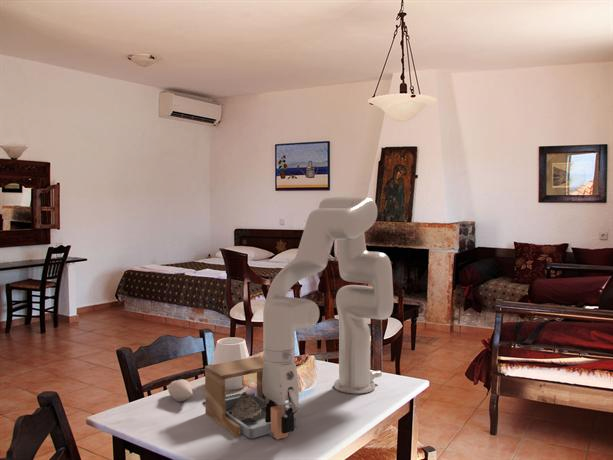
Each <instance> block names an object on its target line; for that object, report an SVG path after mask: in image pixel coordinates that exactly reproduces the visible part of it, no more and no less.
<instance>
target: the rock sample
mask: <svg viewBox="0 0 613 460" xmlns="http://www.w3.org/2000/svg"><path fill="white" fill-rule="evenodd" d="M241 394H242V395H241V396H240V398H239V399H238V402H237V403H236V404H235V406H234V407H233V408H232V409H231V410H230V411H228V413H230V414H231V415H232V416H234V417H235V418H237V419H238V420H240V421H241V422H243V423H244V422H248V421H249V422H250V421H251V422H253V421H257V420H259V419H261V415H262V409H261V407H260V406H259V405H258V404H257V402H255V400H254V399H252V398H251V397H249V396H248V394H249V393H247V392H246V391H243V392H242V393H241Z"/></svg>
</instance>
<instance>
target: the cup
mask: <svg viewBox="0 0 613 460" xmlns="http://www.w3.org/2000/svg"><path fill="white" fill-rule="evenodd" d="M247 357H249V358H250V354H249V351H248V347H247V344H246V339H244V338H242V337H224V338H220V339H218V340H217V341H216V345H215V348H214V352H213V357H212V362H211V365H214V364H220V363H225V362H230V361H236V360H241V359H245V358H247ZM242 388H244V387H243V386H242V376H238V377H233V378H228V379H225V391H227V390H229V391H230V390H240V389H242Z"/></svg>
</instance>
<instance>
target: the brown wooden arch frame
mask: <svg viewBox="0 0 613 460" xmlns="http://www.w3.org/2000/svg"><path fill="white" fill-rule="evenodd" d="M263 359H264V356H262V355H261V356H260V355H257V356H252V357H249V358H246V359H241V360H236V361H230V362H225V363H220V364H214V365H212V364H210V365H205V366H204V381H205V382H204V385H205V387H204V389H205V390H204V393H205V394H204V396H205V397H204V398H205V400H204V401H202V404H203V405H204V406H205V414H206V416H208V417H210V418H211V419H212V420H214V421H215V422H216V423H217V424H219V425H220V426H222V427H223V428H224V429H225V430H227V431H228V432H230V433H231V434H232V435H233V436H235V437H236V438H238V437H241V432H240V426H239V425H238V424H236V423H235V422H233V421H232V420H231V419H229V418H228V417H226V415H225V399H229V398H233V397H237V396H241V395H242V393H235V394H231V395H228V396H226V389H225V379H228V378H233V377H238V376H243V375H248V374H252V375H253V374H255V373H256V396H259V397H260V398H262V399H264V398H263V393H262V391H261V385H262V376H263V364H264V361H263ZM275 404H277V403H275ZM275 404H274V405H275ZM277 405H279V404H277ZM285 407H286V408H288V409H289V407H288V406H285ZM295 416H296V414H295V415H294V417H295ZM295 418H296V417H295Z"/></svg>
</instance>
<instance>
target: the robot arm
mask: <svg viewBox="0 0 613 460" xmlns="http://www.w3.org/2000/svg"><path fill="white" fill-rule="evenodd" d="M377 206H378V205H377V203H376V202H375V201H374V200H373V199H372V198H370V197H363V196H362V197H361V196H358V197H357V196H356V197H354V196H333V197H331V196H330V197H327V198H324V199H322V200H321V201H320V203H319V204H318V208H316V209H314V210H311V211H310V213H309V215H308V217H307V219H306V222H305V226H304V228H303V229H304V230H303V232H302V236H301V237H300V238H301V239H300V241H299V246H298V248H297V252H296V254H295V257H293V259H292V260H291V261H289V262H288V263H287V264H286V265H285V266H284V267H282V269H281V270H280V271H279V272H278V273H277V274H276V275H275V276H274V278H273V280H272V281H271V284H270V286H269V288H268V292H267V295H266V298H265V300H264V306H263V311H262V312H263V313H262V314H263V316H262V317H263V322H262V327H263V328H262V329H263V333H262V334H263V337H262V339H263V342H262V343H263V347H262V348H263V351H262V352H263V356H262V357H263V358H264V359H263V361H264V364H263V376H262V385H261V391H262V393H263V398H264V406H266V407H265V409H264V422H265V423H266V424H270V423H271V407H273V406H277V404H279V405H281V409H282V413H283V417H281V431H282V433H283V434H285V433H288V434H289V433H291V432H294V431H295V427H294V415H295V416H296V413H297V411H298V410H299V408H300V402H299V399H300V398H299V396H300V395H299V393H300V392H299V391H300V390H299V376H298V369H297V365H296V362H295V360H296V359H295V357H296V356H295V355H296V354H295V332H296V331H304V330H308V329H311V328H313V327H314V326H315V325H316V324H317V323H318V321H319V319H320V308H319V306H318V304H316V302H315V301H313V300H311V299H307V298H300V297H299V298H298V297H293V296H292V297H290V296H288V295H287V294H288V293H289V291H290V290H291V288H292V287H293V286H294V285H295V284H296V283H298V282H299V281H301V280H303V279H306V278H309V277H310V276H313V275H315V274H318V273H320V272H322V271H324V270H325V268H326V267H327V266H328V262H329V258H330V255H331V251H332V249H333V248H332V247H333V244H334V241H335V240H336V244H337V245H336V247H337V260H338V271H339V275H340V278H341V279H342V280H343V281H345V282H348V283H349V282H350V283H361V284H371V286H367V285H359V284H349V285H344V286H342V287H340V288H339V289H338V290H337V292H336V297H335V303H336V304H335V305H336V310H337V316H338V325H339V326H338V328H339V329H338V331H339V334H338V335H339V337H338V340H339V341H338V343H339V344H338V346H339V347H338V349H339V350H338V360H339V361H338V379H336V380H335V381H333V387H334V389H335V390H337V391H339V392H342V393H346V394H366V393H370V392H372V391H374V390H375V388H376V383H375V382H374V380H375V379H376V378H381V377H382V373H383V372H382V371H381V370H375V371H373V370H372V369H371V329H370V326H369V324H368V322H367V320H366V319H371V320H382V321H383V320H387V319H389V318H391V315H392V314H393V309H394V287H393V285H394V284H393V269H392V262H391V260H390V257H389V256H388V255H387V254H386V253H384V252H380V251H369V250H367V246H366V245H367V244H366V235H365V232H367V231H368V230H369V229H370V228H371V227H373V225H374V224H375V222H376V220H377V219H378V218H377V217H378V207H377ZM287 401H288V402H287ZM275 403H277V404H275ZM274 404H275V405H274ZM286 407H288V408H289V409H288V410H287V411H286Z"/></svg>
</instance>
